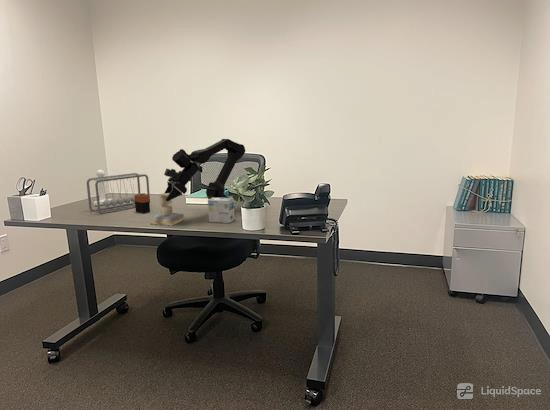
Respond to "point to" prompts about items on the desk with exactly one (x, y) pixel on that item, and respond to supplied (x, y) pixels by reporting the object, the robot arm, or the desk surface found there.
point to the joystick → (101, 188)
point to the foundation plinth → (167, 219)
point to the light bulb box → (221, 210)
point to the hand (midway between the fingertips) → (164, 198)
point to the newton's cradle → (113, 201)
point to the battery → (142, 203)
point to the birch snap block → (165, 205)
